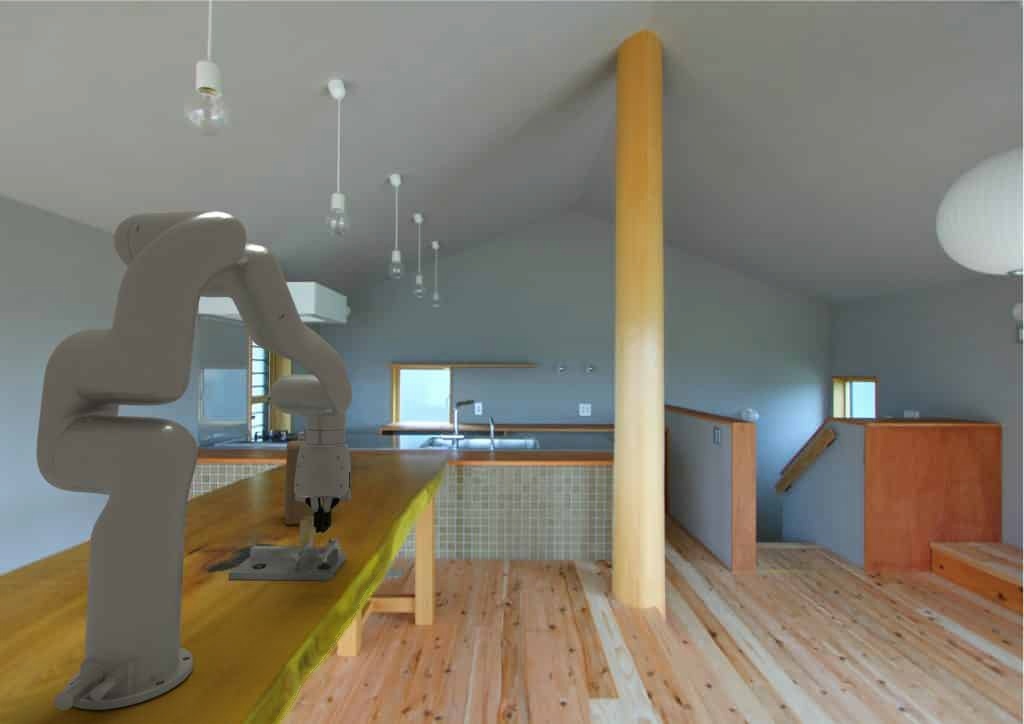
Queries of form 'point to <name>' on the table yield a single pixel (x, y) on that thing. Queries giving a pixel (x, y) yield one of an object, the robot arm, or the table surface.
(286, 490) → the wooden block
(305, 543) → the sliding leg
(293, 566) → the bolt plate
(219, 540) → the table surface
